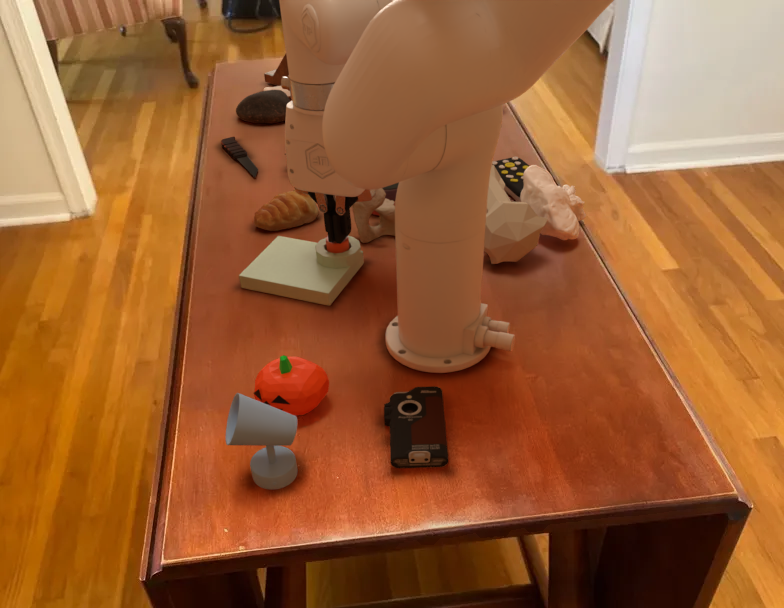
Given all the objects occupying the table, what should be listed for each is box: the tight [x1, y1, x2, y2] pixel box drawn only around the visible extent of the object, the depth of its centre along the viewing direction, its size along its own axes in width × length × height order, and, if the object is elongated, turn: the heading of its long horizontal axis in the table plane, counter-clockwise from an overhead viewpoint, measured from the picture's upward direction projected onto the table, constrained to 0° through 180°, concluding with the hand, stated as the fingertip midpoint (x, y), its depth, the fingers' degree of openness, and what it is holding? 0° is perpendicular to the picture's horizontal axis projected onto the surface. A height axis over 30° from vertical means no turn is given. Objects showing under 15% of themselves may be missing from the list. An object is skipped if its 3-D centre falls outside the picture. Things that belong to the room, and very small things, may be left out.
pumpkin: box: [253, 355, 330, 416], centre depth 81 cm, size 7×8×6 cm
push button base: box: [238, 235, 365, 307], centre depth 101 cm, size 13×11×4 cm
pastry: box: [253, 189, 320, 232], centre depth 112 cm, size 9×7×4 cm
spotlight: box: [225, 392, 299, 490], centre depth 72 cm, size 5×10×7 cm
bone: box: [352, 188, 395, 244], centre depth 106 cm, size 9×6×10 cm
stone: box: [235, 90, 291, 124], centre depth 142 cm, size 11×11×5 cm
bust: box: [520, 164, 587, 241], centre depth 107 cm, size 12×8×11 cm
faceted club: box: [484, 165, 548, 265], centre depth 107 cm, size 9×8×25 cm
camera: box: [383, 385, 450, 469], centre depth 78 cm, size 6×3×11 cm
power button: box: [325, 235, 349, 253], centre depth 100 cm, size 3×3×2 cm
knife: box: [220, 136, 259, 179], centre depth 129 cm, size 17×1×3 cm
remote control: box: [492, 156, 530, 202], centre depth 118 cm, size 6×13×2 cm, turn 21°
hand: (339, 237), depth 99 cm, fingers closed
